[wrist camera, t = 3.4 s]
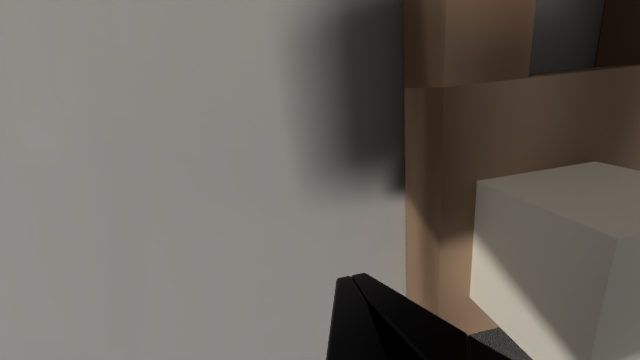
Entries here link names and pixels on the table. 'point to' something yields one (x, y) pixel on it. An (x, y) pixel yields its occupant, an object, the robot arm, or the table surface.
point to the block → (561, 260)
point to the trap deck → (498, 126)
